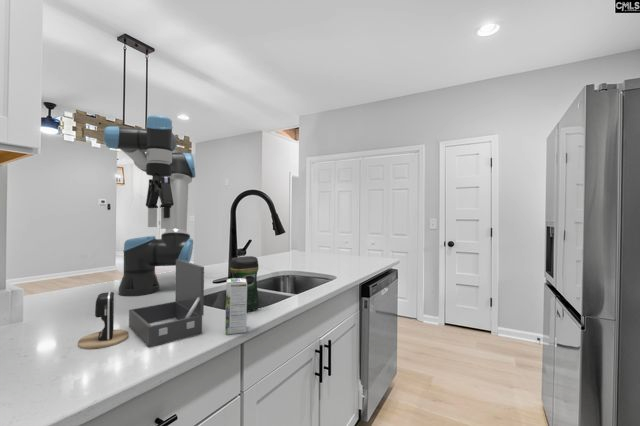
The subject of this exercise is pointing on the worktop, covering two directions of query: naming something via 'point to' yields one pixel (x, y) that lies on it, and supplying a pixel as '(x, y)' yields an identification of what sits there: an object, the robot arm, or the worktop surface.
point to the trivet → (94, 343)
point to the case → (173, 310)
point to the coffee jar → (247, 277)
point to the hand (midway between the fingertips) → (158, 227)
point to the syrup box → (236, 306)
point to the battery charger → (105, 314)
